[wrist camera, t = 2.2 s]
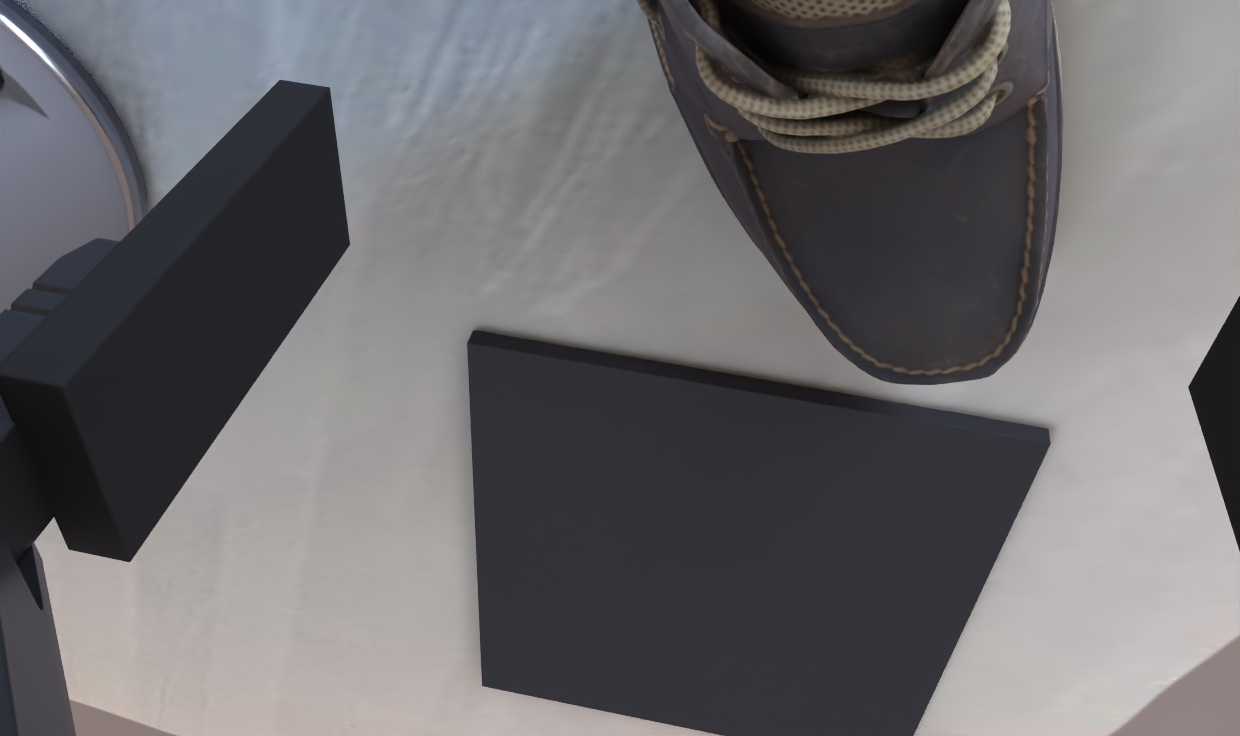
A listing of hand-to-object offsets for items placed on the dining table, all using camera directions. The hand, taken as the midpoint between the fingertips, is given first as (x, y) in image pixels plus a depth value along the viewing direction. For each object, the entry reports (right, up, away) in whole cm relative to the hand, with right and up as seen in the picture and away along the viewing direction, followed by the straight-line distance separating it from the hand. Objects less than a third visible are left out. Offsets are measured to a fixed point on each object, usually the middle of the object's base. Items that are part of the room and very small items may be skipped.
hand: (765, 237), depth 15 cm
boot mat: (+2, -11, +33) cm, 35 cm away
